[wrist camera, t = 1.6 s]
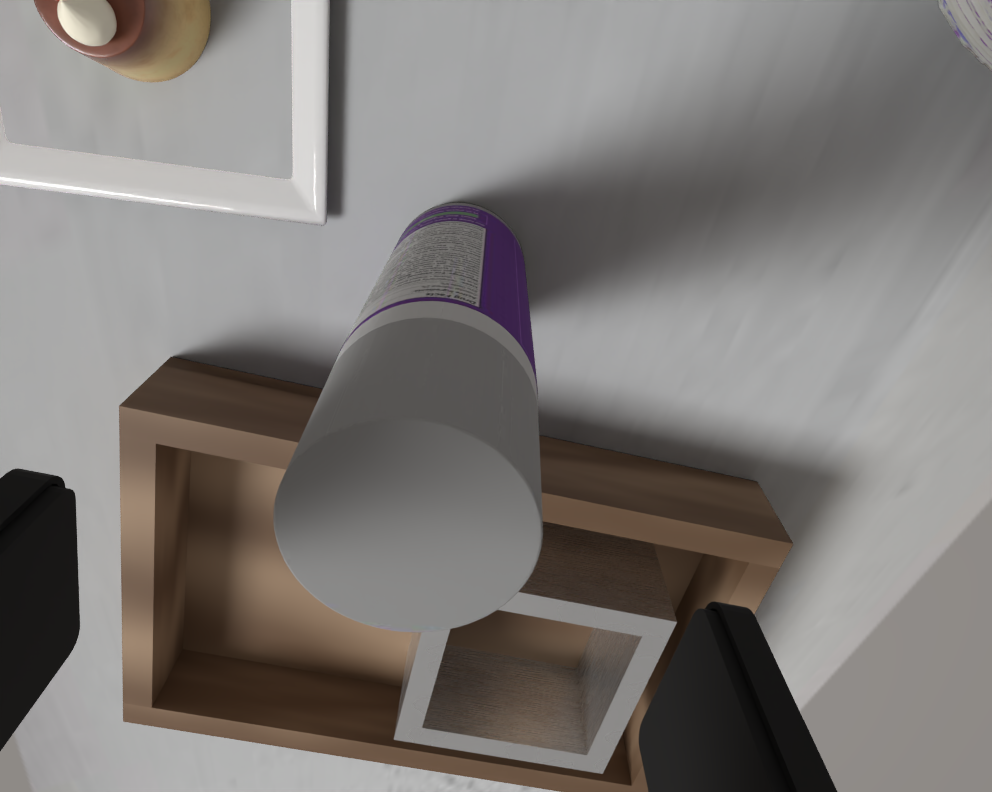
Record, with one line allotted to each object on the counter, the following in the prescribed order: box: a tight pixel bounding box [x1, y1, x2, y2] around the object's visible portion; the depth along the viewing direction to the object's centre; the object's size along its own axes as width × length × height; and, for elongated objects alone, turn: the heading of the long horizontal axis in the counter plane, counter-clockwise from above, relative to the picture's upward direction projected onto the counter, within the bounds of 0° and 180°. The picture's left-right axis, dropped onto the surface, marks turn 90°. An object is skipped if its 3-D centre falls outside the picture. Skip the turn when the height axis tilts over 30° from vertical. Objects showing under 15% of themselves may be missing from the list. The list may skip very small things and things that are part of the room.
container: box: [273, 203, 543, 633], centre depth 18 cm, size 5×5×15 cm
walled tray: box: [119, 357, 793, 792], centre depth 29 cm, size 16×24×4 cm, turn 76°
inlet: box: [394, 521, 677, 774], centre depth 29 cm, size 9×9×4 cm
